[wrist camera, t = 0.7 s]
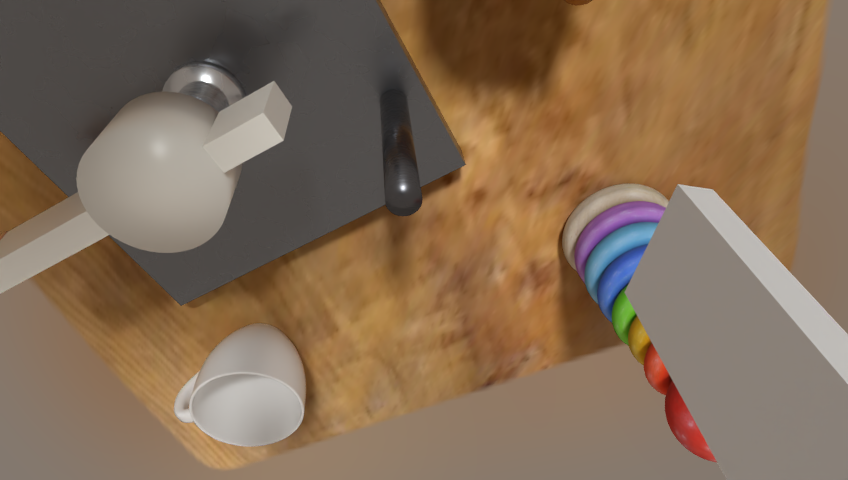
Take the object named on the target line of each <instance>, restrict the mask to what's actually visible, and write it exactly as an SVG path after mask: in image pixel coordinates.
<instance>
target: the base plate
mask: <svg viewBox="0 0 848 480" xmlns="http://www.w3.org/2000/svg"><path fill="white" fill-rule="evenodd" d="M273 81H275V83H276V84H277V85H278V87H279V88H280V90H281V91H282V93H283V94H284V95H285V97H286V98H287V100H288V101H289V103H290V104H291V106H292V109H291V113H290V117H289V121H288V125H287V129H286V133H285V137H284V141H282V142H280V143H278V144H276V145H275V146H273V147H271V148H269V149H267V150H265V151H264V152H262V153H260V154H258V155H256V156H254V157H252V158H251V159H249V160H247V161H245V162H243V163H242V170H241V174H240V177H239V179H238V182H237V185H236V188H235V191H234V194H233V197H232V200H231V202H230V205H229V208H228V211H227V214H226V217H225V219H224V222H223V224H222V226H221V227H220V229H219V230H218V232H217V233H216V234H215V235H214V236H213V237H212V238H211V239H209V240H208V241H207V242H205V243H204V244H202V245H200V246H198V247H196V248H193V249H190V250H187V251H182V252H175V253H157V252H150V251H146V250H141V249H138V248H135V247H132V246H130V245H127V244H125V243H123V242H121V241H119V240H117V239H116V238H114V237H112V236H111V235H109V236H110V237H111V238H112V239H113V240H114V241H115V242H116V243H117V244H118V245H119V246H120V247H121V248H122V249H123V250H124V251H125V252H126V253H127V254H128V255H129V256H130V257H131V258H132V259H133V260H134V261H135V262H136V263H137V264H139V265H140V266H141V267H142V268H143V269H144V270H145V271H146V272H147V273H148V274H149V275H150V276H151V277H152V278H153V279H154V280H155V281H156V282H157V283H158V284H159V285H160V286H161V287H162V288H163V289H164V290H165V291H166V292H167V293H168V294H170V295H171V296H172V297H173V298H174V299H175V300H176V301H177V302H178V303H179V304H180V305H181V306H182V305H184V304H186V303H188V302H190V301H192V300H194V299H196V298H198V297H200V296H202V295H204V294H206V293H208V292H210V291H212V290H214V289H216V288H218V287H220V286H222V285H224V284H226V283H228V282H230V281H232V280H234V279H236V278H238V277H240V276H242V275H244V274H246V273H248V272H250V271H252V270H254V269H256V268H258V267H260V266H262V265H264V264H266V263H268V262H270V261H272V260H274V259H276V258H279V257H281V256H283V255H285V254H287V253H289V252H291V251H293V250H295V249H297V248H299V247H301V246H303V245H305V244H307V243H309V242H311V241H313V240H315V239H317V238H319V237H321V236H323V235H325V234H327V233H329V232H331V231H333V230H335V229H337V228H339V227H341V226H343V225H345V224H347V223H349V222H351V221H353V220H355V219H357V218H359V217H361V216H363V215H365V214H367V213H369V212H371V211H373V210H375V209H377V208H379V207H381V206H383V205H386V207H387V208H388V210H389V211H390V212H392V213H393V214H395V215H398V216H408V215H411V214H413V213H415V212H416V211H418V209H419V208H420V207H421V204H422V193H421V187H422V186H424V185H426V184H428V183H430V182H432V181H434V180H436V179H438V178H440V177H442V176H444V175H446V174H448V173H450V172H452V171H454V170H456V169H458V168H460V167H462V166H464V165H466V164H465V161H464V157H463V154H462V151H461V149H460V147H459V145H458V143H457V141H456V139H455V138H454V136H453V134H452V132H451V130H450V128H449V127H448V125H447V123H446V121H445V119H444V117H443V115H442V114H441V112H440V110H439V108H438V106H437V104H436V103H435V101H434V99H433V97H432V95H431V93H430V92H429V90H428V88H427V86H426V84H425V82H424V80H423V79H422V77H421V75H420V73H419V71H418V69H417V68H416V66H415V64H414V62H413V60H412V58H411V57H410V55H409V53H408V51H407V49H406V47H405V45H404V44H403V42H402V40H401V38H400V36H399V34H398V33H397V31H396V29H395V27H394V25H393V23H392V22H391V20H390V18H389V16H388V14H387V12H386V10H385V9H384V7H383V5H382V3H381V1H380V0H0V131H1V132H2V133H3V134H4V135H5V136H6V137H7V138H8V139H9V140H10V141H11V142H12V143H13V144H14V145H15V146H16V147H18V148H19V149H20V150H21V151H22V152H23V153H24V154H25V155H26V156H27V157H28V158H29V159H30V160H31V161H32V162H33V163H34V164H35V165H36V166H37V167H38V168H39V169H40V170H41V171H42V172H43V173H44V174H45V175H46V176H48V177H49V178H50V179H51V180H52V181H53V182H54V183H55V184H56V185H57V186H58V187H59V188H60V189H61V190H62V191H63V192H64V193H65V194H66V195H67V196H68V197H70V196H72V195H73V194H75V193H77V192H78V189H77V181H76V177H77V169H78V165H79V162H80V160H81V158H82V156H83V155H84V153H85V152H86V150H87V149H88V148H89V147H90V145H91V144H92V143H93V142H94V141H95V139H96V138H97V137H98V136H99V135H100V133H101V132H102V131H103V130H104V129H105V127H106V126H107V125H108V124H109V123H110V121H111V120H112V119H113V118H114V117H115V115H116V114H117V113H118V112H119V111H120V109H122V108H123V107H124V106H125V105H126V104H127V103H128V102H130V101H131V100H133V99H135V98H137V97H139V96H141V95H144V94H148V93H153V92H176V93H181V94H185V95H189V96H192V97H194V98H197V99H199V100H201V101H203V102H205V103H207V104H208V105H210V106H211V107H213V108H214V109H215V110H217V111H218V112H220V111H222V110H223V109H225V108H227V107H229V106H230V105H232V104H234V103H236V102H237V101H239V100H241V99H243V98H244V97H246V96H248V95H250V94H252V93H253V92H255V91H257V90H259V89H260V88H262V87H264V86H266V85H267V84H269V83H271V82H273Z"/></svg>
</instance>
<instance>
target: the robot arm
mask: <svg viewBox="0 0 848 480" xmlns="http://www.w3.org/2000/svg"><path fill="white" fill-rule="evenodd" d="M625 294H626V296H627V298H628V300H629V302H630V303H631V305H632V307H633V309H634V311H635V313H636V314H637V316H638V318H639V320H640V322H641V324H642V325H643V327H644V329H645V331H646V333H647V335H648V336H649V338H650V340H651V342H652V344H653V346H654V347H655V349H656V351H657V353H658V355H659V357H660V358H661V360H662V362H663V364H664V366H665V368H666V369H667V371H668V373H669V375H670V377H671V379H672V380H673V382H674V384H675V386H676V388H677V390H678V391H679V393H680V395H681V397H682V399H683V401H684V402H685V404H686V406H687V408H688V410H689V412H690V413H691V415H692V417H693V419H694V421H695V423H696V424H697V426H698V428H699V430H700V432H701V434H702V435H703V437H704V439H705V441H706V443H707V445H708V446H709V448H710V450H711V452H712V454H713V456H714V457H715V459H716V461H717V463H718V465H719V467H720V468H721V470H722V472H723V474H724V476H725V477H726V479H727V480H848V335H847V333H846V332H845V331H844V330H843V329H842V328H841V327H840V326H839V325H838V323H836V321H835V320H834V319H833V318H832V317H831V316H830V315H829V314H828V313H827V312H826V311H825V310H824V309H823V307H822V306H821V305H820V304H819V303H818V302H817V301H816V300H815V299H814V298H813V297H812V296H811V294H809V292H808V291H807V290H806V289H805V288H804V287H803V286H802V285H801V284H800V283H799V282H798V281H797V280H796V278H795V277H794V276H793V275H792V274H791V273H790V272H789V271H788V270H787V269H786V268H785V267H784V265H783V264H782V263H781V262H780V261H779V260H778V259H777V258H776V257H775V256H774V255H773V254H772V253H771V252H770V250H769V249H768V248H767V247H766V246H765V245H764V244H763V243H762V242H761V241H760V240H759V239H758V238H757V236H756V235H755V234H754V233H753V232H752V231H751V230H750V229H749V228H748V227H747V226H746V225H745V224H744V223H743V221H742V220H741V219H740V218H739V217H738V216H737V215H736V214H735V213H734V212H733V211H732V210H731V209H730V208H729V206H728V205H727V204H726V203H725V202H724V201H723V200H722V199H721V198H720V197H719V196H718V195H717V194H716V192H715V191H714V190H713V189H706V188H699V187H693V186H686V185H679V184H678V185H677V187H676V189H675V191H674V193H673V195H672V197H671V199H670V201H669V203H668V205H667V207H666V209H665V211H664V213H663V215H662V217H661V219H660V221H659V223H658V225H657V227H656V229H655V231H654V234H653V236H652V238H651V240H650V242H649V244H648V246H647V248H646V250H645V252H644V254H643V256H642V258H641V260H640V262H639V264H638V266H637V268H636V270H635V272H634V274H633V276H632V278H631V280H630V282H629V284H628V286H627V288H626V290H625Z"/></svg>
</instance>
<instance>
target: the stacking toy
mask: <svg viewBox="0 0 848 480" xmlns="http://www.w3.org/2000/svg"><path fill="white" fill-rule="evenodd" d="M668 203H669V201H668V200H667V199H666V198H665V197H664V196H663V195H662V194H661V193H660V192H658V191H656V190H655V189H653V188H651V187H648V186H644V185H640V184H619V185H614V186H610V187H607V188H604V189H602V190H600V191H597V192H596V193H594V194H592V195H591V196H589V197H588V198H586V199H585V200H584V201H583V202H581V203H580V204H579V205H578V206H577V207H576V208H575V210H574V211H573V212H572V214H571V215H570V217H569V218H568V220H567V222H566V225H565V227H564V231H563V236H562V247H563V251H564V255H565V257H566V259H567V261H568V263H569V264H570V265H571V266H572V267H573V269H575V270H576V271H577V272H578V274H579V276H580V278H581V279H582V280H583V282H584V283H585V284H586V287H587V290H588V292H589V294H590V296H591V297H592V299H593V300H594V301H595V302H596V303H597V304H599V307H600V309H601V311H602V313H603V314H604V315H605V317H606V318H607V319H608V320H609V321H611V322H612V324H613V327H614V330H615V332H616V334H617V335H618V337H619V338H620V339H621V340H622V341H623V342H624V343H625V344H627V345H628V346H629V348H630V350H631V352H632V354H633V355H634V357H635V358H636V359H637V361H638V362H640V363H641V364H642V365H644V371H645V375H646V378H647V380H648V382H649V383H650V384H651V386H652V387H653V388H655V389H656V390H657V391H658V392H660V393H662V394H664V395H666V397H665V412H666V417H667V421H668V424H669V426H670V429H671V431H672V432H673V434H674V435H675V437H676V438H677V440H678V441H679V442H680V443H681V444H682V445H683V446H684V447H685V448H686V449H688V450H689V451H690V452H692V453H693V454H695V455H697V456H699V457H701V458H703V459H706V460H709V461H713V462H717V461H716V459H715V457H714V456H713V454H712V452H711V450H710V448H709V446H708V445H707V443H706V441H705V439H704V437H703V435H702V434H701V432H700V430H699V428H698V426H697V424H696V423H695V421H694V419H693V417H692V415H691V413H690V412H689V410H688V408H687V406H686V404H685V402H684V401H683V399H682V397H681V395H680V393H679V391H678V390H677V388H676V386H675V384H674V382H673V380H672V379H671V377H670V375H669V373H668V371H667V369H666V368H665V366H664V364H663V362H662V360H661V358H660V357H659V355H658V353H657V351H656V349H655V347H654V346H653V344H652V342H651V340H650V338H649V336H648V335H647V333H646V331H645V329H644V327H643V325H642V324H641V322H640V320H639V318H638V316H637V314H636V313H635V311H634V309H633V307H632V305H631V303H630V302H629V300H628V298H627V296H626V294H625V290H626V288H627V286H628V284H629V282H630V280H631V278H632V276H633V274H634V272H635V270H636V268H637V266H638V264H639V262H640V260H641V258H642V256H643V254H644V252H645V250H646V248H647V246H648V244H649V242H650V240H651V238H652V236H653V234H654V231H655V229H656V227H657V225H658V223H659V221H660V219H661V217H662V215H663V213H664V211H665V209H666V207H667V205H668Z"/></svg>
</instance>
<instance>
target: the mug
mask: <svg viewBox="0 0 848 480" xmlns="http://www.w3.org/2000/svg"><path fill="white" fill-rule="evenodd" d="M564 1H566V2H567V3H568V4H571V5H584V4H588V3H589V2H591V1H592V0H564Z"/></svg>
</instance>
